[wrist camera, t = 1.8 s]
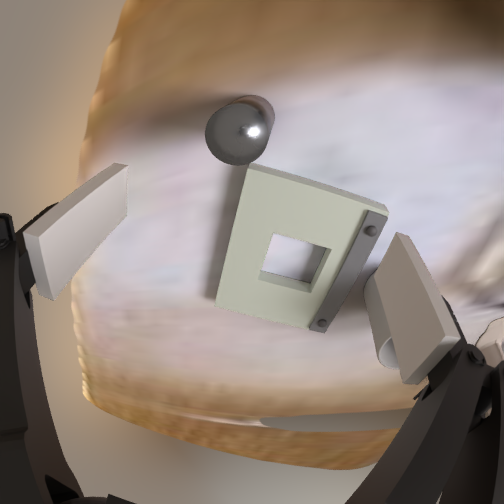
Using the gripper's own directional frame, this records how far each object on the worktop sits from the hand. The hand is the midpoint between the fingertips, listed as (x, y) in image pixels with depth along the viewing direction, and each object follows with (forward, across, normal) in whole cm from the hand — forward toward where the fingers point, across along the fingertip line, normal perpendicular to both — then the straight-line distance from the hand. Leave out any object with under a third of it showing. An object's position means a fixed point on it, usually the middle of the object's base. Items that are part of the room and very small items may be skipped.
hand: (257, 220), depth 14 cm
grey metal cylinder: (+20, -3, +1) cm, 20 cm away
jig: (+20, +6, -14) cm, 25 cm away
